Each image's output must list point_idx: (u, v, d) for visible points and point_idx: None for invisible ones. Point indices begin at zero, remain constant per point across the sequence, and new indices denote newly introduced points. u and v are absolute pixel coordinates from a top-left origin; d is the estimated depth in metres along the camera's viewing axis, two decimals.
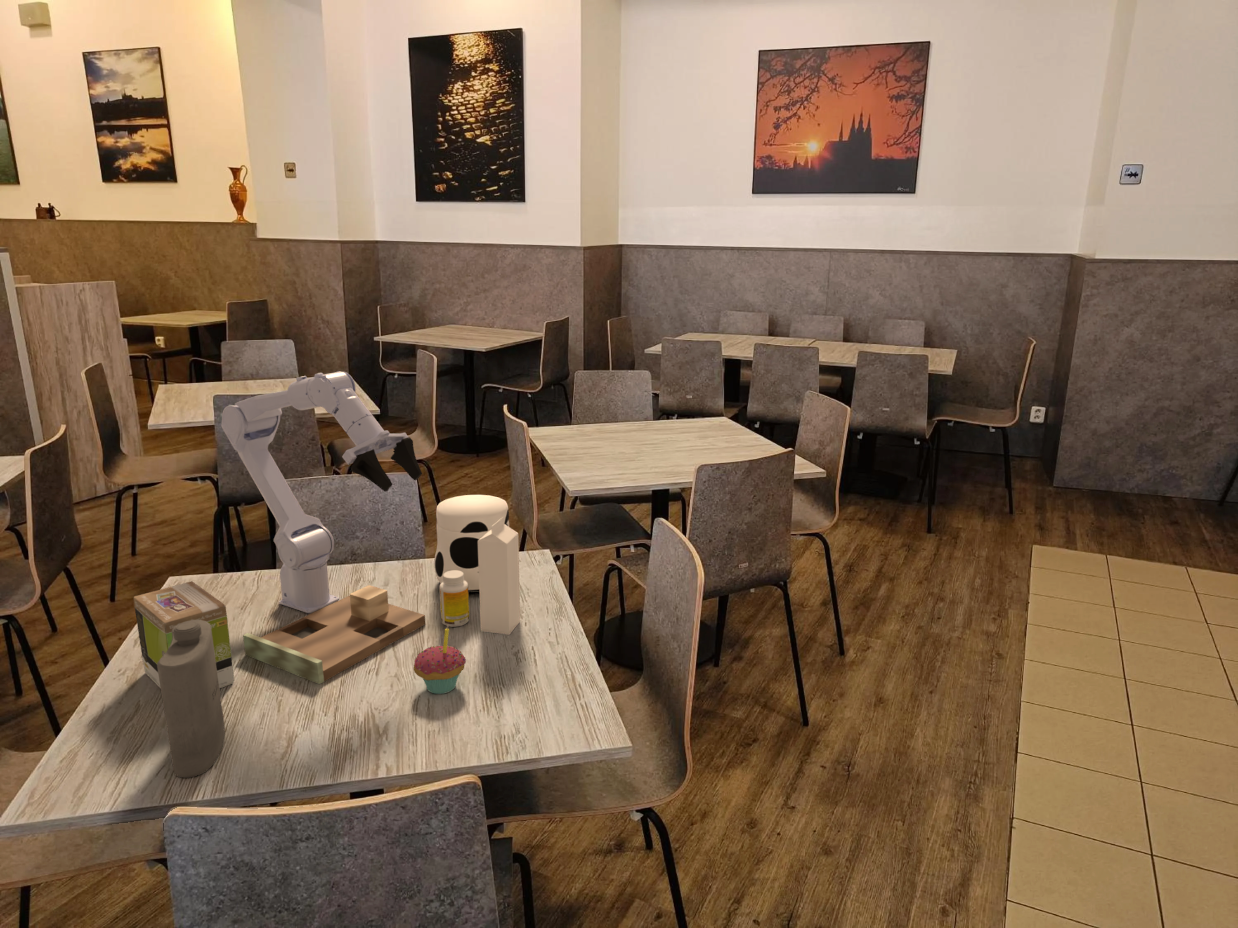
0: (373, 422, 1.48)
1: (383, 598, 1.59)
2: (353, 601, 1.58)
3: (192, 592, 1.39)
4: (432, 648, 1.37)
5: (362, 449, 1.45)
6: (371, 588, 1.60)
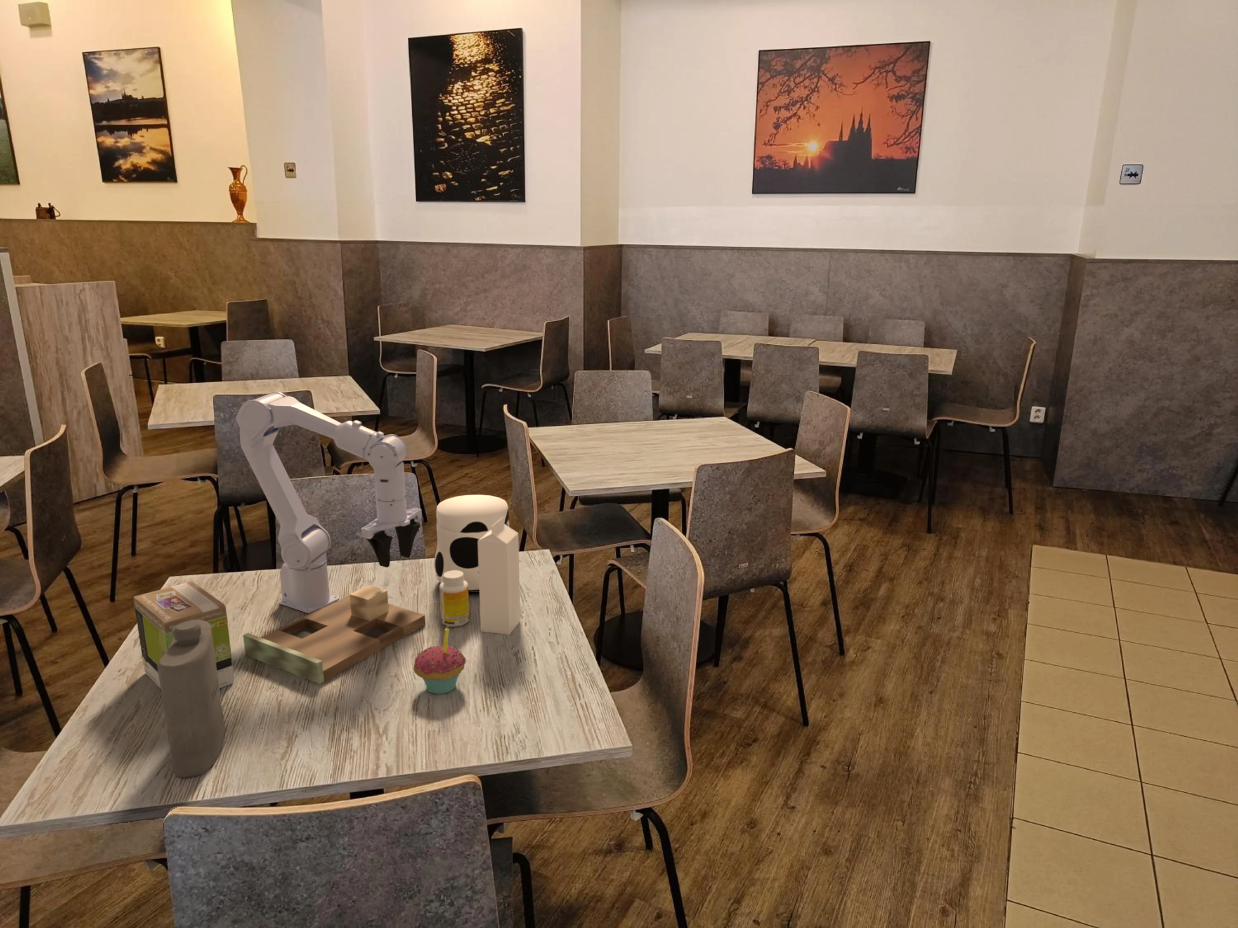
0: (402, 506, 1.60)
1: (383, 598, 1.59)
2: (353, 601, 1.58)
3: (192, 592, 1.39)
4: (432, 648, 1.37)
5: None
6: (371, 588, 1.60)
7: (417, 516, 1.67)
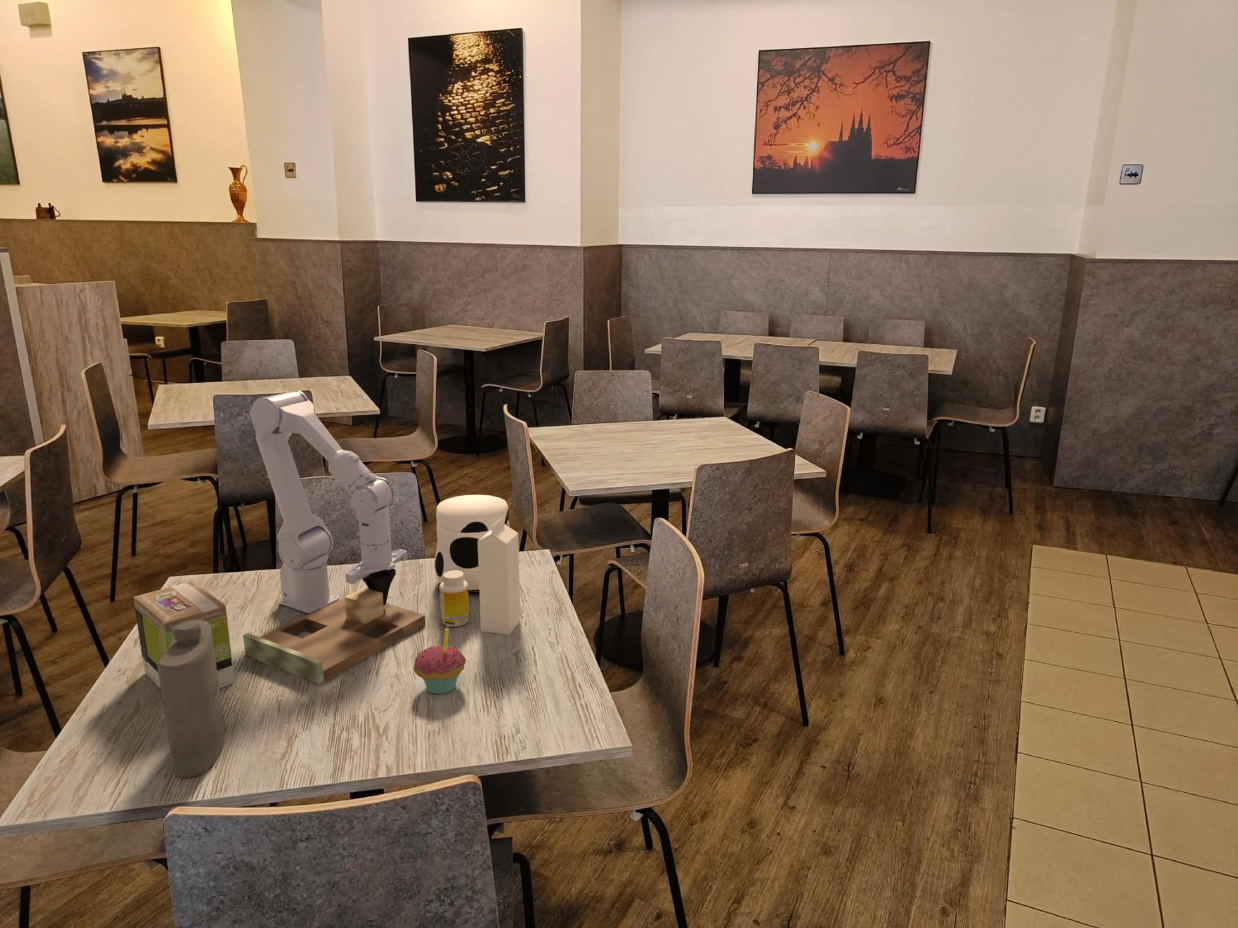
0: (387, 550, 1.58)
1: (378, 601, 1.58)
2: (348, 604, 1.56)
3: (192, 592, 1.39)
4: (432, 648, 1.37)
5: None
6: (366, 591, 1.59)
7: (403, 558, 1.65)
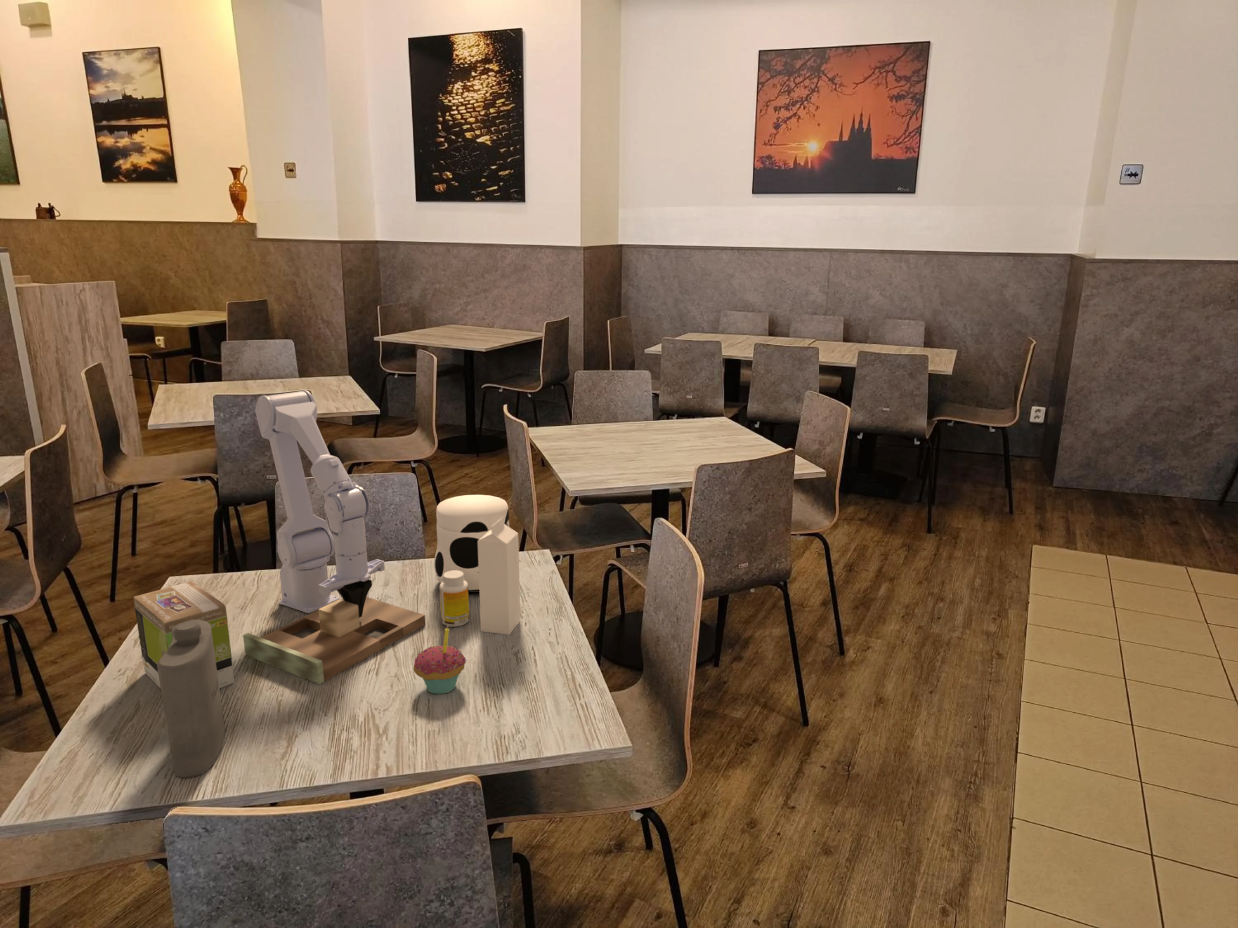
0: (363, 560, 1.52)
1: (354, 613, 1.52)
2: (322, 617, 1.51)
3: (192, 592, 1.39)
4: (432, 648, 1.37)
5: None
6: (341, 603, 1.54)
7: (380, 568, 1.59)
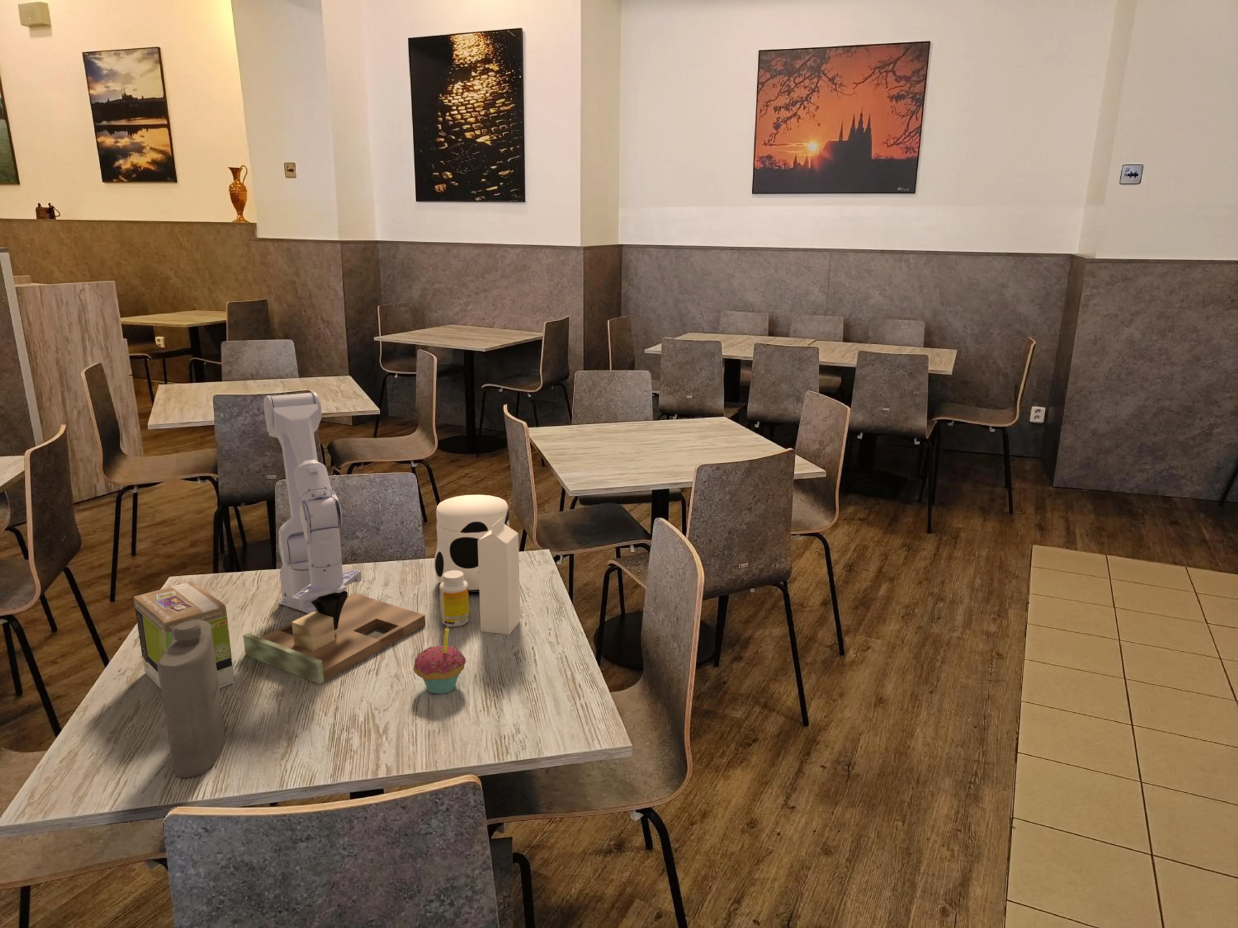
0: (337, 571, 1.47)
1: (328, 626, 1.47)
2: (296, 630, 1.46)
3: (192, 592, 1.39)
4: (432, 648, 1.37)
5: None
6: (316, 615, 1.49)
7: (356, 579, 1.54)
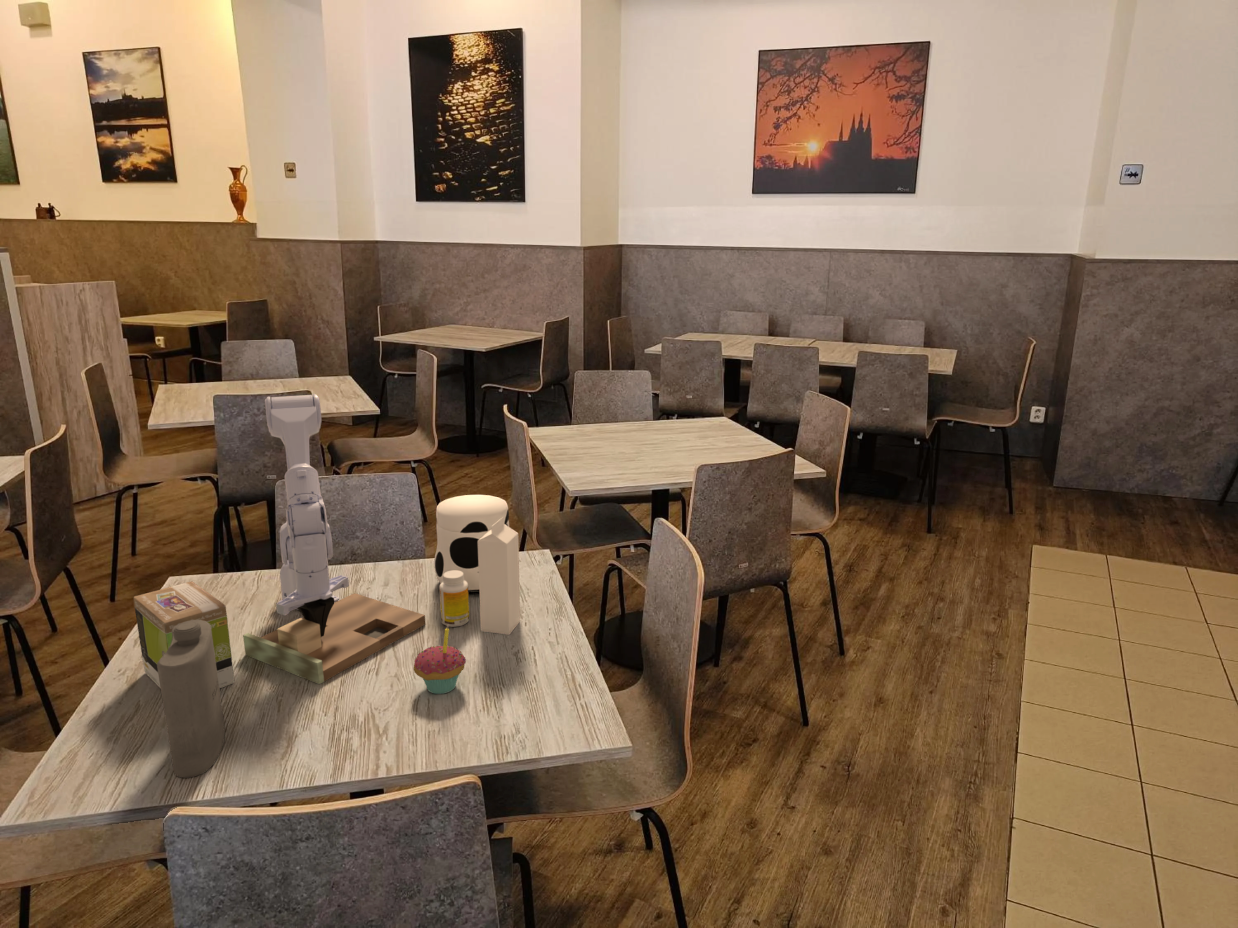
0: (324, 577, 1.45)
1: (315, 633, 1.45)
2: (281, 637, 1.43)
3: (192, 592, 1.39)
4: (432, 648, 1.37)
5: None
6: (302, 621, 1.46)
7: (343, 585, 1.52)
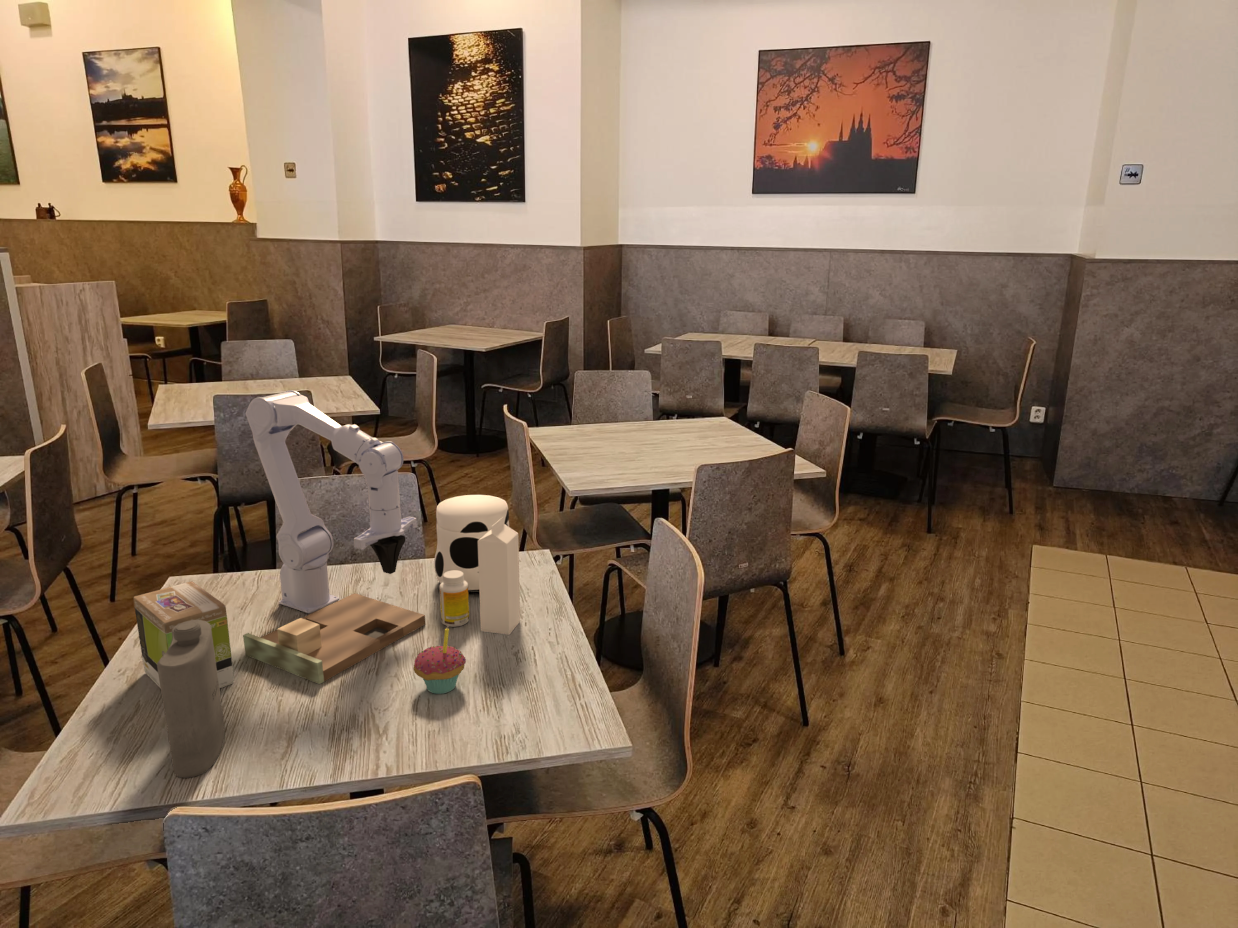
0: (397, 515, 1.54)
1: (315, 633, 1.45)
2: (281, 637, 1.43)
3: (192, 592, 1.39)
4: (432, 648, 1.37)
5: None
6: (302, 621, 1.46)
7: (412, 525, 1.61)
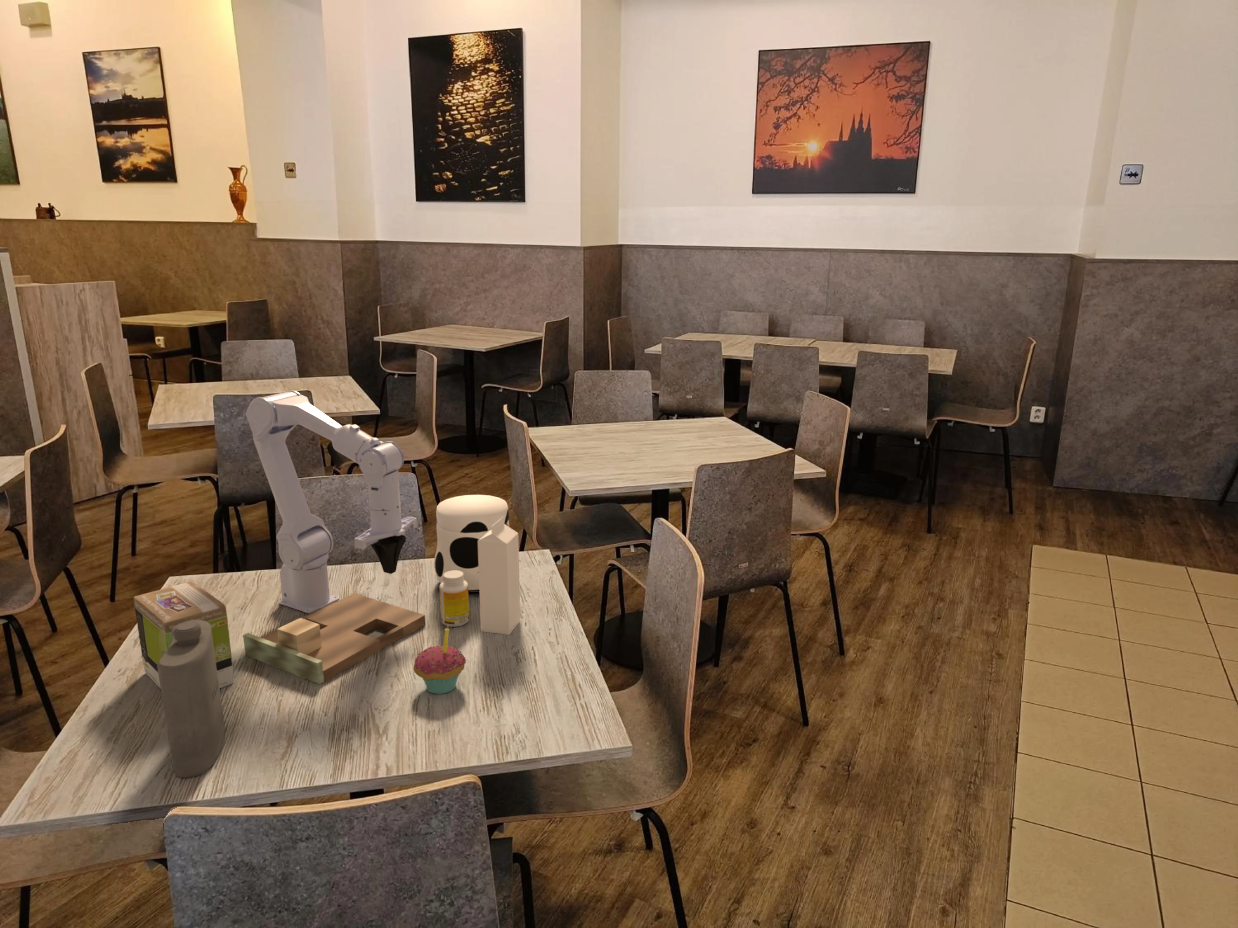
0: (397, 515, 1.54)
1: (315, 633, 1.45)
2: (281, 637, 1.43)
3: (192, 592, 1.39)
4: (432, 648, 1.37)
5: None
6: (302, 621, 1.46)
7: (412, 525, 1.61)
